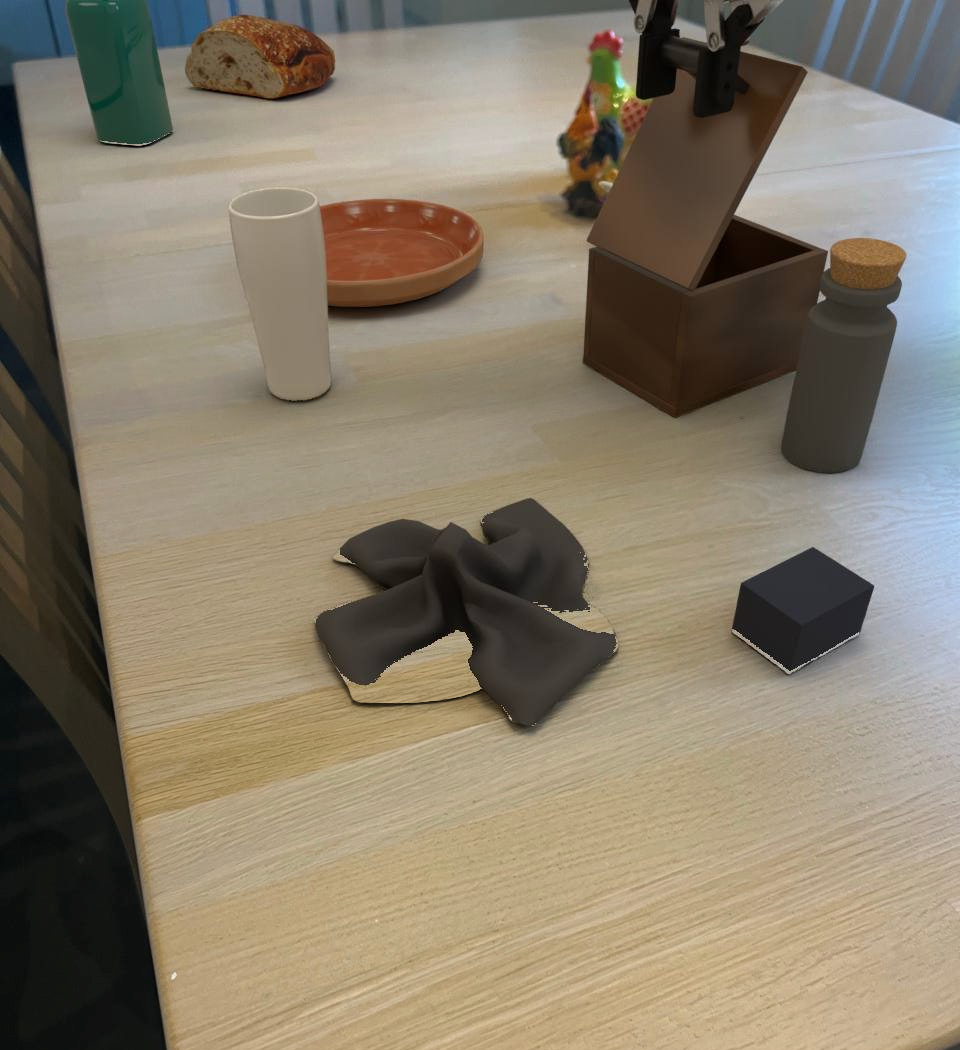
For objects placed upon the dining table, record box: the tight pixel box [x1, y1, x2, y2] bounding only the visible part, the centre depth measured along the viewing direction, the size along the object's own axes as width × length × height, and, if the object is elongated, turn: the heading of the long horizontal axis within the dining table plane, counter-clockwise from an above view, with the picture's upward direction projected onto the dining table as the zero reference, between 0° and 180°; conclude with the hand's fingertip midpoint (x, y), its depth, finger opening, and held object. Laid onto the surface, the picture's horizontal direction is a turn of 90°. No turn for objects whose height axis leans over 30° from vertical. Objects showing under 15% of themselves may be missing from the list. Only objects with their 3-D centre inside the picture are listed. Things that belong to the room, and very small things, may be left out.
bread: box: [184, 14, 336, 99], centre depth 156 cm, size 20×18×10 cm
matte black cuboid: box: [731, 546, 875, 671], centre depth 59 cm, size 6×5×4 cm
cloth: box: [314, 497, 617, 727], centre depth 61 cm, size 22×19×6 cm
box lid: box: [585, 35, 809, 292], centre depth 72 cm, size 15×12×6 cm
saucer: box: [319, 198, 485, 308], centre depth 101 cm, size 23×23×4 cm
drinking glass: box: [227, 186, 333, 402], centre depth 79 cm, size 7×7×15 cm
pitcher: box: [64, 0, 174, 144], centre depth 132 cm, size 10×8×22 cm
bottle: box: [780, 237, 907, 474], centre depth 70 cm, size 6×6×15 cm
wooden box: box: [582, 214, 829, 418], centre depth 83 cm, size 15×12×10 cm
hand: (683, 101), depth 70 cm, fingers closed on box lid, 5 cm apart
